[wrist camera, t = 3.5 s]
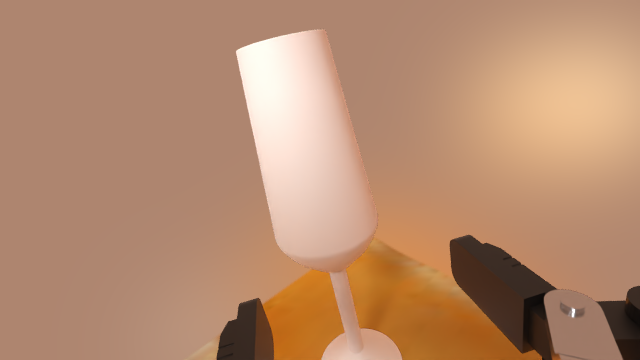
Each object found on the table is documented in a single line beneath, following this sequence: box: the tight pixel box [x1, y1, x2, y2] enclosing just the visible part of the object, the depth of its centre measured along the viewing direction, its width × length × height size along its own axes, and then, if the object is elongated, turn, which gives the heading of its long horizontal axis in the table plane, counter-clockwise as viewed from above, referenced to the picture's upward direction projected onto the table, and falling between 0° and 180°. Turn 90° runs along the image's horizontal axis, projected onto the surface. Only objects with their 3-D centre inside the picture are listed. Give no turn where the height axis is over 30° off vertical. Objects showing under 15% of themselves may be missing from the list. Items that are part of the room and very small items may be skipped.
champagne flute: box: [236, 30, 402, 360], centre depth 20 cm, size 7×7×24 cm
